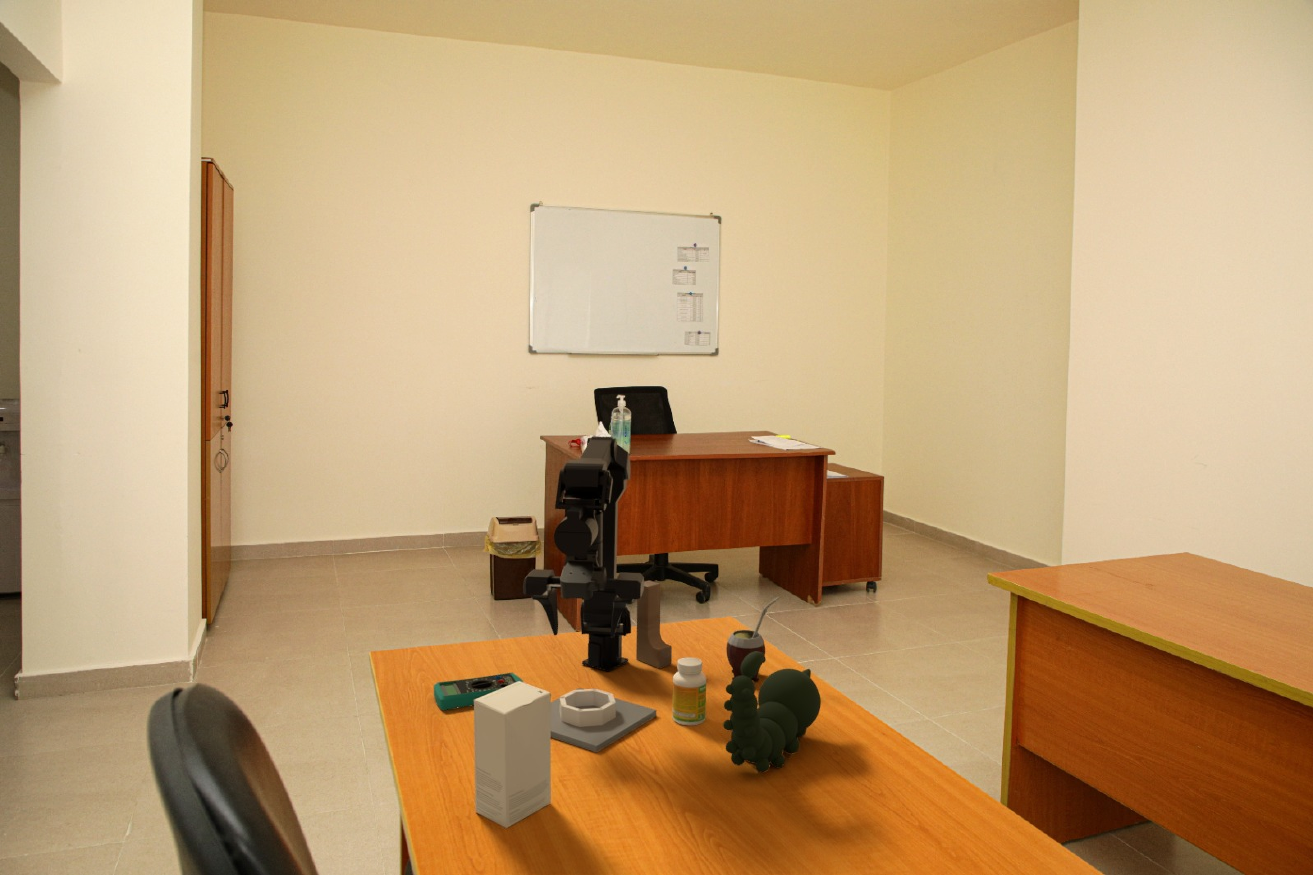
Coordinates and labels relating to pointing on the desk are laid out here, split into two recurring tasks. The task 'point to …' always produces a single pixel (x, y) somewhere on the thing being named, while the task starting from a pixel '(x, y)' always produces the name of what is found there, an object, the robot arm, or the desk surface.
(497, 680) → the digital multimeter
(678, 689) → the supplement bottle
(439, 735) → the desk surface
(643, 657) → the wooden block
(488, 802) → the skincare box
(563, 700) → the ring holder
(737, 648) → the mate gourd
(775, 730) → the toy figurine
